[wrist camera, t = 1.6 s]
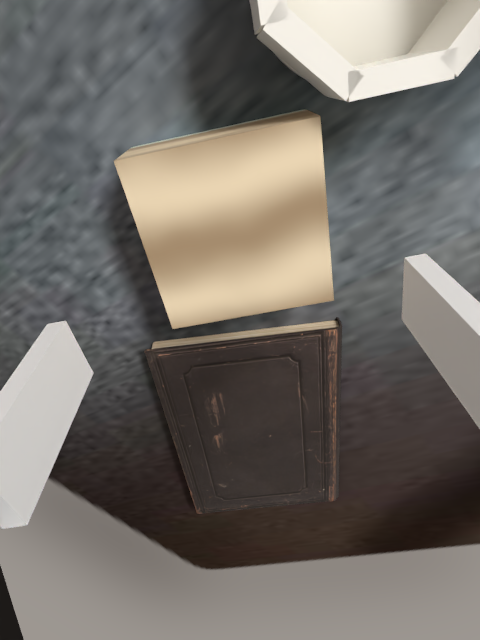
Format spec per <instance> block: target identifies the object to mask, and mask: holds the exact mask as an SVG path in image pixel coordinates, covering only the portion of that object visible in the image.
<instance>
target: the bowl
mask: <svg viewBox="0 0 480 640" xmlns="http://www.w3.org/2000/svg"><path fill="white" fill-rule="evenodd" d="M249 2H250V5H251V12H252V19H253V26H254V33H255V34H258V35H257V37H256V38H257V39H259V40H260V41H261V42H262V43H263V44H264V45H266V46H267V47H268V48H269V49H270V50H272V51H273V52H274V53H275V55H276V56H277V57H278V59H280V60H281V61H282V62H283V63H284V64H285V65H286V66H287V67H288V68H289V69H290V70H292V71H293V72H294V73H296V74H297V75H298V76H300V77H302V78H304V79H306V80H307V81H308V82H309V83H310V84H312V85H313V86H314V87H315V88H316V89H317V90H319V91H320V92H321V93H322V94H323V95H325V96H326V97H330V98H335V99H339V100H343V101H347V102H351V101H356V100H360V99H365V98H369V97H374V96H378V95H383V94H387V93H392V92H397V91H401V90H406V89H410V88H415V87H419V86H424V85H428V84H433V83H437V82H442V81H447V80H451V79H454V77H458V75H459V74H460V73H461V72H462V71H463V69H464V68H465V67H466V66H467V64H468V63H469V62H470V61H471V60H472V58H473V57H474V56H475V55H476V53H477V52H478V51H479V50H480V0H249Z"/></svg>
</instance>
